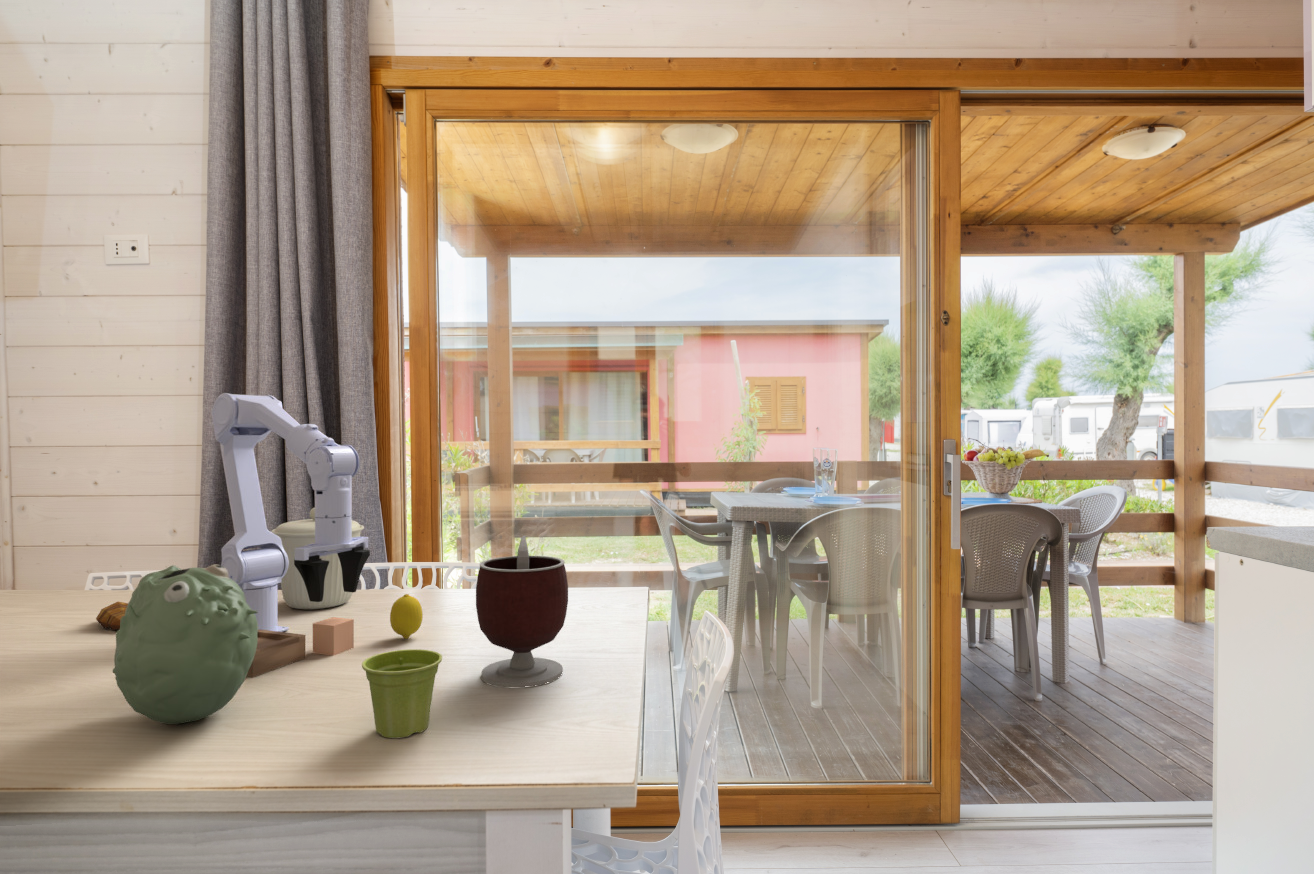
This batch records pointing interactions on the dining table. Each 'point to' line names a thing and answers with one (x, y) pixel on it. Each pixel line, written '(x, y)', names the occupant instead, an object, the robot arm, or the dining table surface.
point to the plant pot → (402, 690)
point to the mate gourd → (521, 614)
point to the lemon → (406, 616)
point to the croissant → (112, 615)
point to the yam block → (333, 636)
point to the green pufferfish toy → (184, 644)
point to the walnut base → (276, 651)
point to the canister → (293, 582)
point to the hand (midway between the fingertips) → (333, 596)
